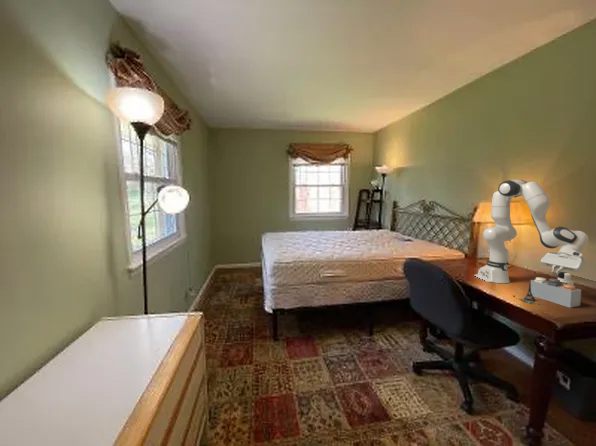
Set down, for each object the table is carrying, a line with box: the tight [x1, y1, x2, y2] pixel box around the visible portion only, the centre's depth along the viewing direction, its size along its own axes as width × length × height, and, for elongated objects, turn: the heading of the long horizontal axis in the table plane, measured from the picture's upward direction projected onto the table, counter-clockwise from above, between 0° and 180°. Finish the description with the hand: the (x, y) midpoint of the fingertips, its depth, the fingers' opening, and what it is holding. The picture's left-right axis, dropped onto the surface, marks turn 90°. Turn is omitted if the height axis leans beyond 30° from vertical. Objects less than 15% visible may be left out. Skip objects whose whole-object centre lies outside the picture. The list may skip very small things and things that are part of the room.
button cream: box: [533, 276, 548, 283], centre depth 184 cm, size 5×5×8 cm
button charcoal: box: [547, 278, 561, 287], centre depth 177 cm, size 5×5×8 cm
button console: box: [529, 279, 582, 309], centre depth 178 cm, size 22×8×9 cm, turn 17°
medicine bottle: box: [557, 271, 575, 286], centre depth 192 cm, size 7×7×12 cm
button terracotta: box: [562, 284, 577, 291], centre depth 170 cm, size 5×5×8 cm
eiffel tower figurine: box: [512, 278, 546, 306], centre depth 178 cm, size 15×10×13 cm
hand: (554, 273), depth 176 cm, fingers closed
